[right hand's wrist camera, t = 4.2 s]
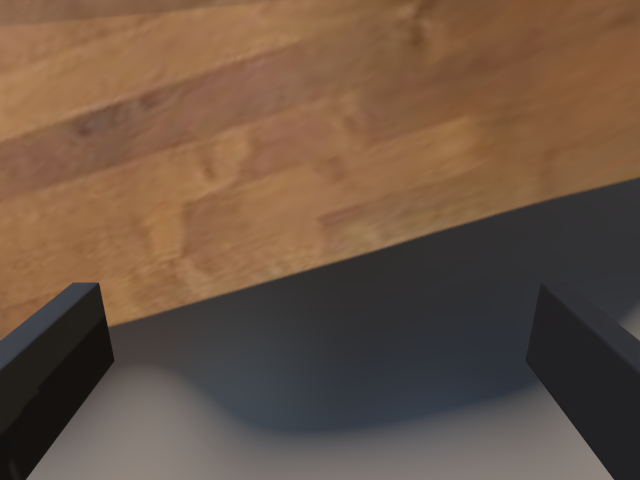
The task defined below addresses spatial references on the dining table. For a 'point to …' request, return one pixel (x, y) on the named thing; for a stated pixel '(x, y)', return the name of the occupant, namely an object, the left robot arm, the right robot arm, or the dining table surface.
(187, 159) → the dining table surface
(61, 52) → the dining table surface
